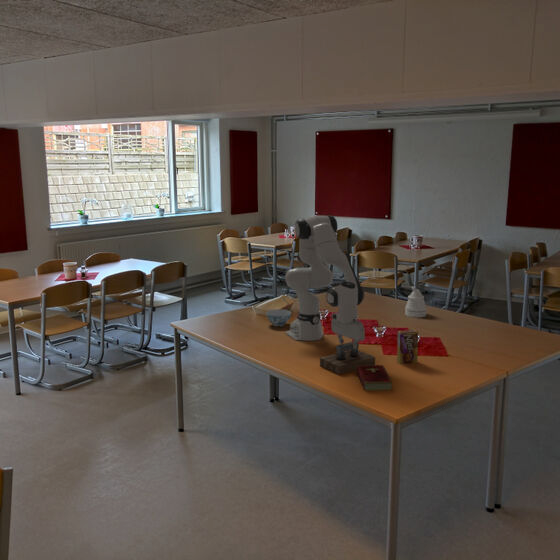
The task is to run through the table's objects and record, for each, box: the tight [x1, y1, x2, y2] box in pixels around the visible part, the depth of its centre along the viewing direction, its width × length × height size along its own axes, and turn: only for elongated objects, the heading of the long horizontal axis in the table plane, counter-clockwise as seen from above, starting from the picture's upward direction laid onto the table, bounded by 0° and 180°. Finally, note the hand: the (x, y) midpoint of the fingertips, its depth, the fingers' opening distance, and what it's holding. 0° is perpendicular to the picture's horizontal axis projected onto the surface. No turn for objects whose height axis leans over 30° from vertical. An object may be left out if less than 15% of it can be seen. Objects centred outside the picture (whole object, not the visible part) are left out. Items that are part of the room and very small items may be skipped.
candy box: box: [396, 329, 419, 365], centre depth 266 cm, size 9×4×15 cm, turn 96°
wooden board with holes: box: [319, 349, 376, 375], centre depth 264 cm, size 14×22×4 cm, turn 123°
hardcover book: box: [356, 364, 394, 391], centre depth 244 cm, size 12×21×4 cm, turn 1°
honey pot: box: [404, 286, 427, 318], centre depth 352 cm, size 13×13×18 cm
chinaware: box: [265, 309, 292, 327], centre depth 334 cm, size 15×15×8 cm
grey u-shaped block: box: [335, 341, 360, 361], centre depth 264 cm, size 3×11×10 cm, turn 123°
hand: (347, 345), depth 263 cm, fingers open, 8 cm apart
